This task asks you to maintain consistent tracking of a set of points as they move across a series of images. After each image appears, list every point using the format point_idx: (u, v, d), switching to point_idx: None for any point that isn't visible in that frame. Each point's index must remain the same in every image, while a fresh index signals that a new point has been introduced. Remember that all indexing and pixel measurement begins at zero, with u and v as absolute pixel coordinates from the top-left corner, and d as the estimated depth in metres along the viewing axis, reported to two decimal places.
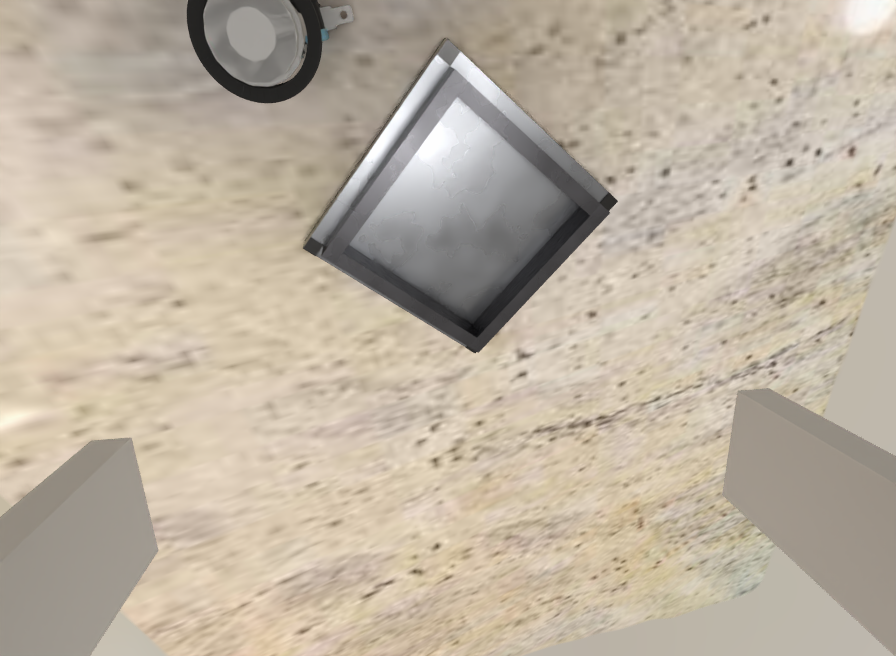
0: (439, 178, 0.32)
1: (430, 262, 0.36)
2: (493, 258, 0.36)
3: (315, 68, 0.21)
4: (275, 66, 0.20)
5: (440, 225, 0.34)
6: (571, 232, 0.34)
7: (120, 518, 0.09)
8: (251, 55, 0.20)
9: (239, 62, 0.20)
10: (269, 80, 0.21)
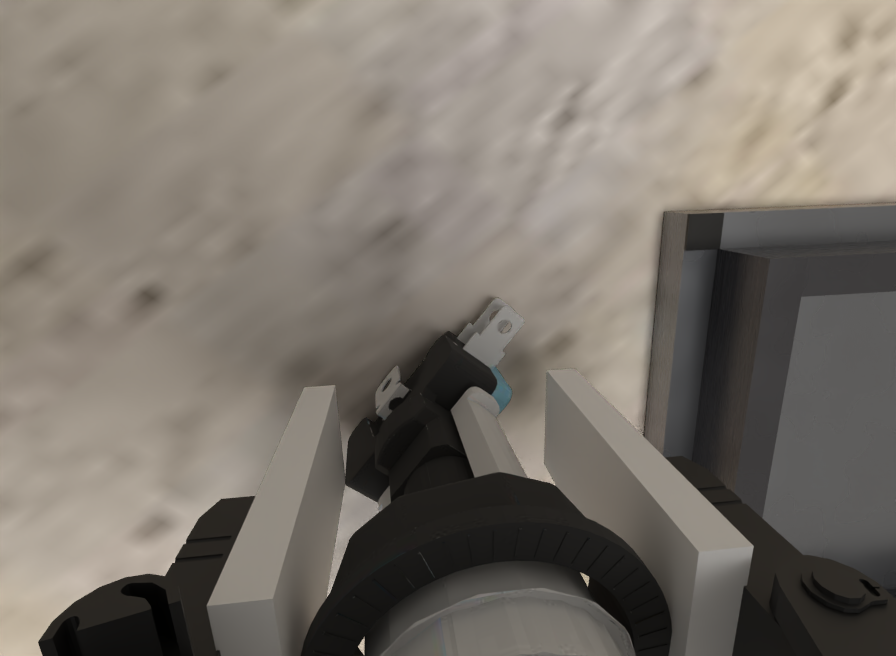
0: (803, 417, 0.16)
1: (862, 541, 0.17)
2: None
3: (669, 632, 0.07)
4: None
5: (847, 480, 0.16)
6: None
7: (336, 447, 0.11)
8: None
9: None
10: None
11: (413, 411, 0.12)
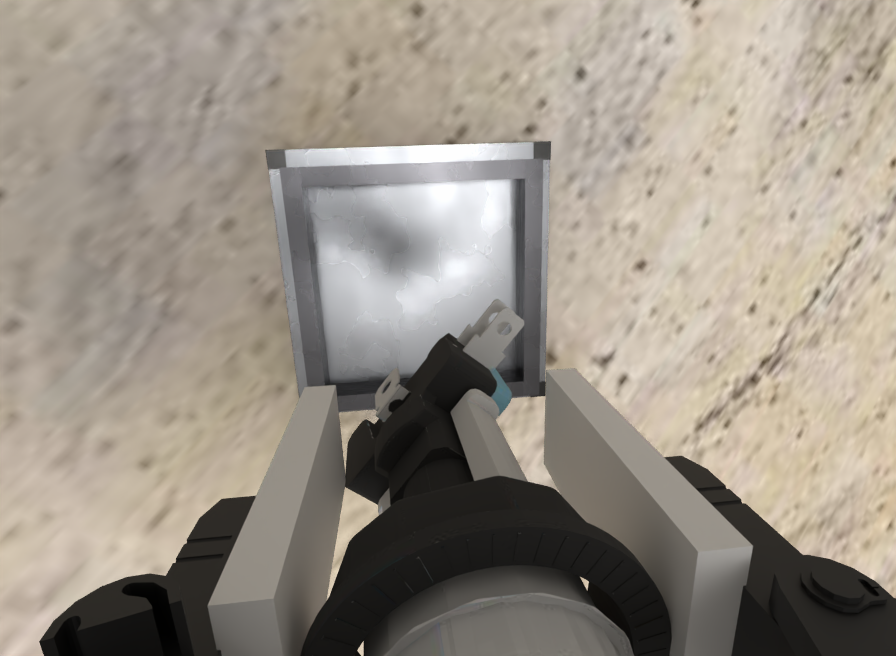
0: (362, 264, 0.29)
1: (421, 342, 0.31)
2: (477, 293, 0.30)
3: (668, 636, 0.07)
4: None
5: (400, 303, 0.30)
6: (523, 208, 0.27)
7: (336, 447, 0.11)
8: None
9: None
10: None
11: (413, 413, 0.12)
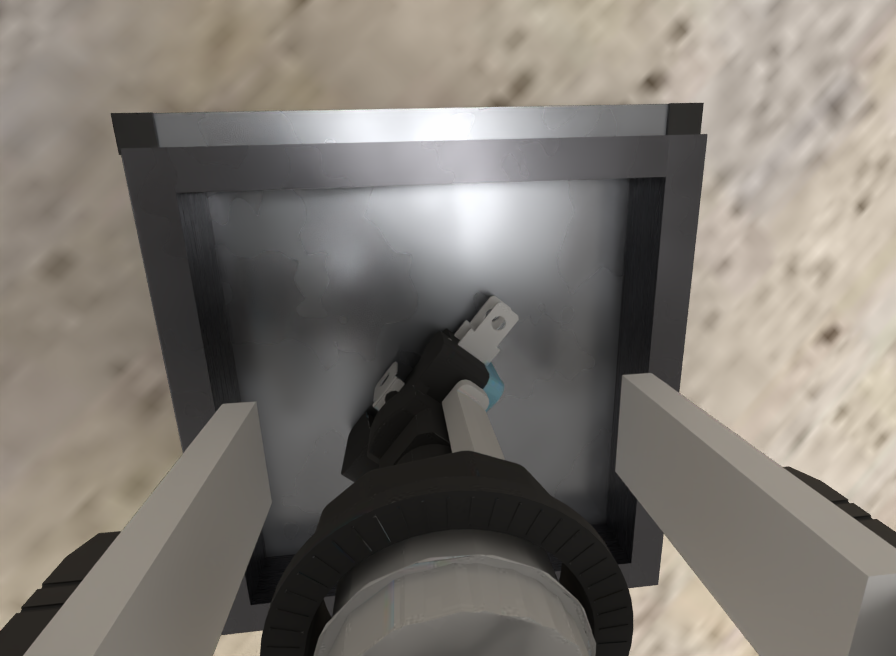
0: (323, 344, 0.15)
1: None
2: (543, 394, 0.16)
3: (629, 611, 0.07)
4: None
5: None
6: (653, 240, 0.13)
7: (252, 469, 0.11)
8: None
9: None
10: None
11: (404, 401, 0.12)
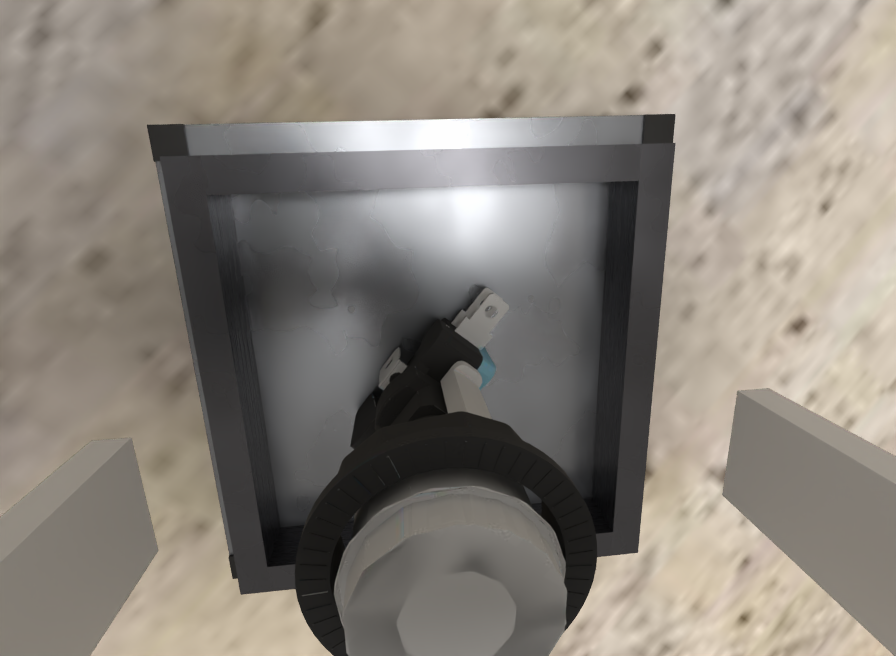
0: (333, 332, 0.16)
1: None
2: (533, 378, 0.18)
3: (593, 539, 0.09)
4: (537, 633, 0.08)
5: None
6: (629, 237, 0.15)
7: (120, 518, 0.09)
8: (480, 652, 0.08)
9: None
10: None
11: (407, 379, 0.13)
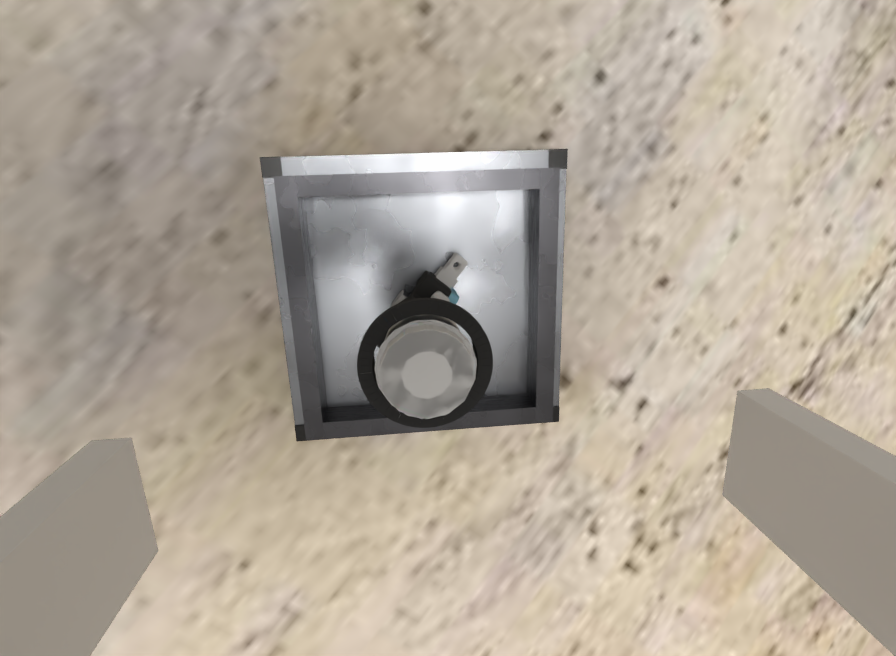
0: (362, 280, 0.27)
1: None
2: (486, 311, 0.28)
3: (490, 352, 0.19)
4: (461, 383, 0.18)
5: None
6: (537, 221, 0.25)
7: (120, 518, 0.09)
8: (437, 391, 0.18)
9: (431, 404, 0.18)
10: (464, 398, 0.18)
11: (407, 300, 0.24)
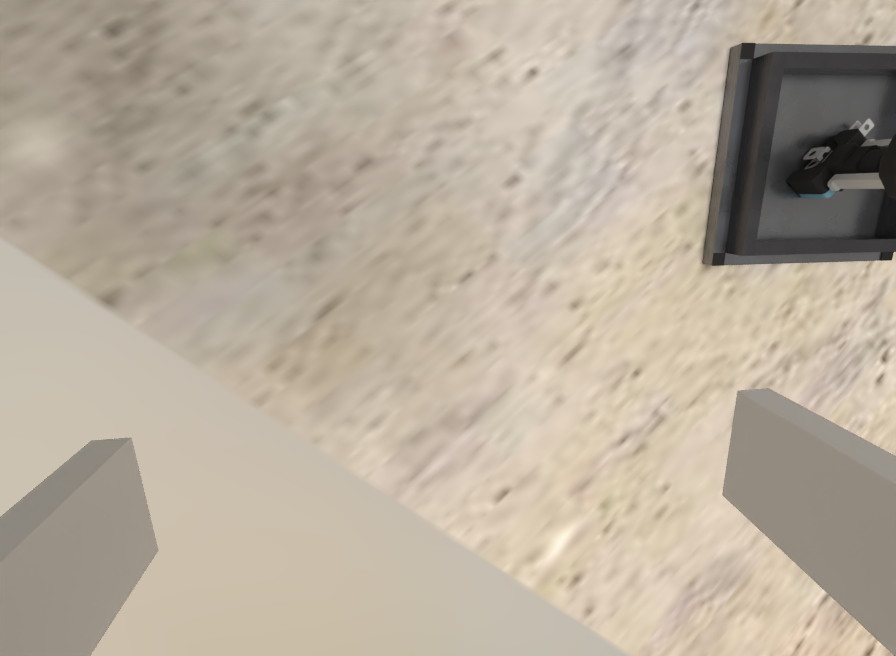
0: (785, 140, 0.37)
1: (811, 208, 0.39)
2: None
3: None
4: None
5: None
6: None
7: (120, 518, 0.09)
8: None
9: None
10: None
11: (852, 143, 0.34)
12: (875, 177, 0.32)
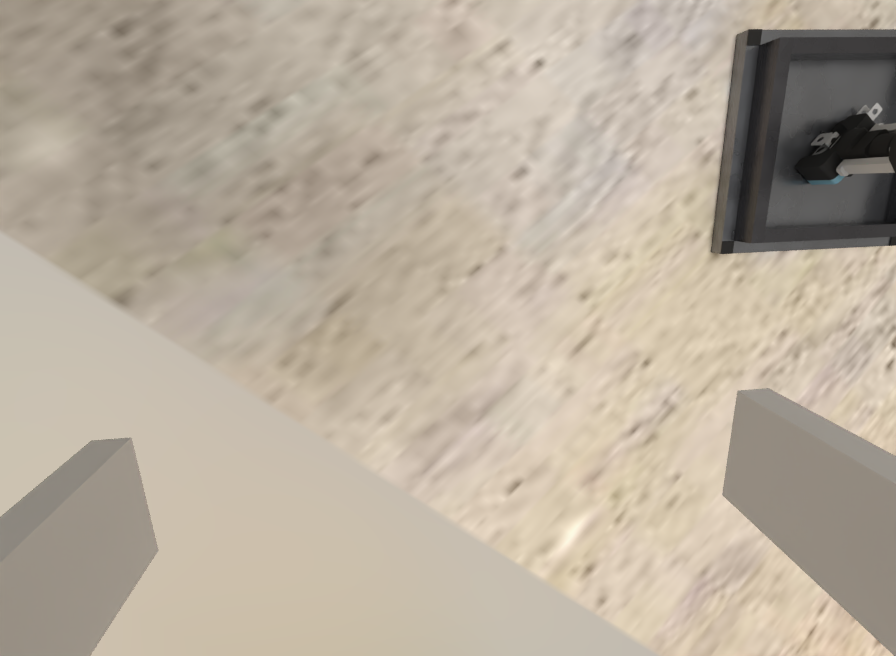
0: (793, 126, 0.37)
1: (820, 195, 0.39)
2: None
3: None
4: None
5: None
6: None
7: (120, 518, 0.09)
8: None
9: None
10: None
11: (861, 128, 0.34)
12: (885, 161, 0.32)
